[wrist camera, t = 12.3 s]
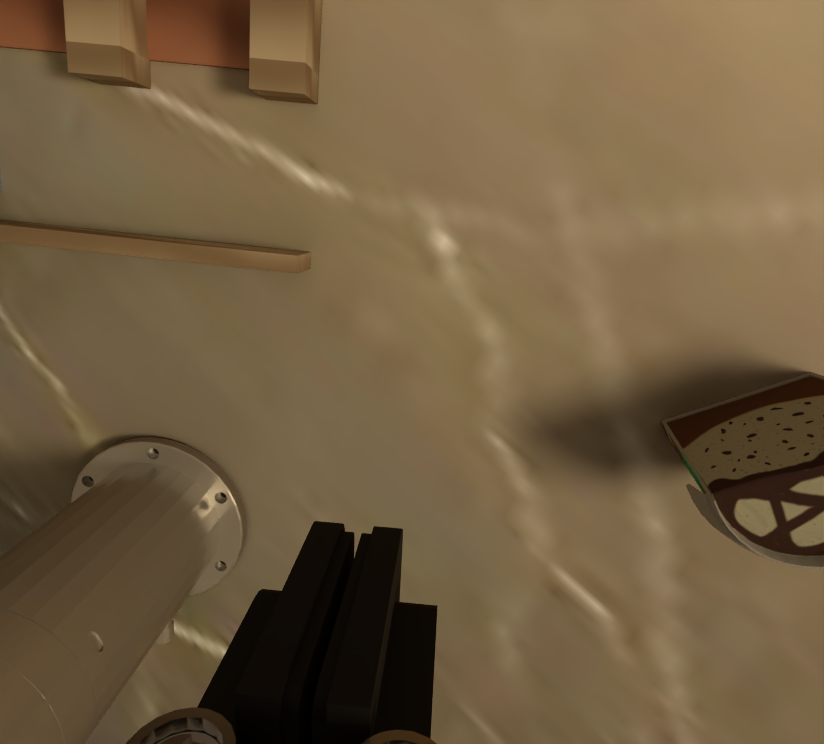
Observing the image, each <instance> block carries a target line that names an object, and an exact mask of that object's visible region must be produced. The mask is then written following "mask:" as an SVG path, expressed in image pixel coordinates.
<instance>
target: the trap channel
mask: <svg viewBox="0 0 824 744" xmlns="http://www.w3.org/2000/svg"><path fill="white" fill-rule="evenodd" d="M321 15H322V0H0V47H7V48H18V49H29V50H40V51H51V52H62V53H67V64H68V72H69V73H72V74H75V75H77V76H80V77H83V78H86V79H89V80H91V81H94V82H97V83H100V84H106V85H116V86H127V87H138V88H149V89H151V86H150V61H161V62H172V63H183V64H194V65H205V66H216V67H227V68H238V69H249V89H250V90H252V91H254V92H255V93H257V94H259V95H260V96H262V97H264V98H265V99H267V100H278V101H288V102H299V103H310V104H318V82H319V60H320V38H321ZM0 242H7V243H17V244H26V245H35V246H45V247H54V248H64V249H73V250H82V251H92V252H101V253H111V254H120V255H130V256H139V257H148V258H158V259H167V260H177V261H186V262H195V263H205V264H214V265H224V266H233V267H242V268H252V269H261V270H271V271H280V272H289V273H299V272H302V271H305V270H307V269H310V259H311V252H304V251H294V250H285V249H275V248H266V247H256V246H247V245H237V244H227V243H218V242H208V241H199V240H189V239H180V238H170V237H160V236H151V235H141V234H132V233H122V232H113V231H103V230H94V229H84V228H74V227H65V226H55V225H46V224H36V223H27V222H17V221H7V220H0Z"/></svg>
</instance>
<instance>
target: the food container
mask: <svg viewBox="0 0 824 744" xmlns="http://www.w3.org/2000/svg"><path fill="white" fill-rule="evenodd" d="M661 423H662V425H663V427H664V430H665V432H666V434H667V437H668V438H669V440H670V441H671V443H672V444H673V446H674V448H675V449H676V451H677V452H678V454H679V455H680V457H681V459H682V460H683V462H684V463H685V465H686V466H687V468H688V470H689V471H690V473H691V474H692V476H693V478H694V479H695V481H696V482H697V484H698V485H699V487H700V489H701V490H702V492H703V493H702V492H701V491H699V490H697V489H696V488H694V487H693V486H691V485H690V484H687V485H686V486H687V489H688V491H689V494H690V496H691V498H692V500H693V502H694V503H695V505H696V506H697V508H698V510H699V511H700V513H701V514H702V515H703V516H704V517H705V518H706V519H707V520H708V522H709V523H710V524H711V525H712V526H713V527H715V528H716V529H717V530H719V531H720V532H721V533H723V534H724V535H725V536H727V537H728V538H730V539H731V540H732V541H734V542H735V543H737V544H738V545H740V546H741V547H743V548H745V549H747V550H749V551H751V552H752V553H754V554H756V555H758V556H761V557H764V558H767V559H770V560H773V561H776V562H779V563H782V564H786V565H791V566H796V567H802V568H820V569H822V568H824V376H821V375H818V374H815V373H812V372H810V373H807V374H804V375H801V376H797V377H794V378H791V379H788V380H785V381H782V382H779V383H776V384H773V385H770V386H767V387H764V388H761V389H757V390H754V391H751V392H748V393H745V394H742V395H739V396H736V397H733V398H730V399H727V400H724V401H721V402H717V403H714V404H711V405H708V406H705V407H702V408H699V409H696V410H693V411H690V412H687V413H684V414H681V415H678V416H674V417H671V418H668V419H665V420H662V421H661Z"/></svg>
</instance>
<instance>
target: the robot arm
mask: <svg viewBox="0 0 824 744" xmlns="http://www.w3.org/2000/svg"><path fill="white" fill-rule="evenodd" d="M245 538H246V517H245V512H244V507H243V504H242V501H241V499H240V496H239V494H238V492H237V490H236V488H235V487H234V485H233V484H232V482H231V481H230V479H229V477H228V476H227V475H226V474H225V473H224V472H223V471H222V470H221V469H220V468H219V466H218V465H217V464H215V463H214V462H213V461H211V460H210V459H209V458H208V457H206V456H205V455H204V454H202V453H200V452H199V451H197V450H195V449H193V448H191V447H189V446H187V445H184V444H181V443H179V442H176V441H173V440H168V439H162V438H156V437H142V438H134V439H129V440H124V441H121V442H119V443H117V444H115V445H112V446H110V447H108V448H107V449H105V450H104V451H102V452H101V453H99V454H98V455H96V456H95V457H94V458H93V459H92V460H91V461H90V462H89V463H87V464H86V465H85V467H84V468H83V469H82V471H81V472H80V474H79V475H78V477H77V479H76V482H75V485H74V487H73V490H72V496H71V504H69V505H68V506H67V507H66V508H64V509H63V510H62V511H60V512H59V513H58V514H56V515H55V516H54V517H52V518H51V519H50V520H48V521H47V522H46V523H44V524H43V525H42V526H41V527H39V528H38V529H37V530H35V531H34V532H33V533H31V534H30V535H29V536H27V537H26V538H25V539H23V540H22V541H21V542H20V543H18V544H17V545H16V546H14V547H13V548H12V549H10V550H9V551H8V552H6V553H5V554H4V555H2V556H1V557H0V744H84V743H85V742H86V740H87V739H88V738H89V736H90V735H91V733H92V732H93V730H94V729H95V728H96V726H97V725H98V723H99V722H100V720H101V719H102V717H103V716H104V715H105V713H106V712H107V710H108V709H109V707H110V706H111V705H112V703H113V702H114V700H115V699H116V697H117V696H118V694H119V693H120V692H121V690H122V689H123V687H124V686H125V684H126V683H127V682H128V680H129V679H130V677H131V676H132V674H133V673H134V671H135V670H136V669H137V667H138V666H139V664H140V663H141V661H142V660H143V659H144V657H145V656H146V654H147V653H148V651H149V650H150V649H151V647H152V646H153V644H154V643H157V644H165V643H168V642H170V641H171V640H172V639H173V636H174V621H173V618H174V616H175V615H176V613H177V612H178V610H179V609H180V607H181V606H182V605H183V603H184V602H185V600H186V599H187V597H192V596H195V595H198V594H200V593H203V592H206V591H208V590H209V589H211V588H212V587H214V586H216V585H217V584H219V583H220V582H221V581H222V580H223V579H224V578H225V577H226V576H227V575H228V574H229V573H230V571H231V570H232V568H233V567H234V565H235V564H236V562H237V560H238V558H239V556H240V554H241V552H242V550H243V547H244V542H245ZM402 541H403V529H399V528H388V527H376V526H374V528H373V531H372V534H366V533H362V535H361V538H360V541H359V544H358V548H357V551H356V554H355V558H354V533H353V532H345V528H344V524H342V523H330V522H319V521H315V522H314V523H313V525H312V527H311V529H310V531H309V533H308V535H307V538H306V540H305V542H304V544H303V546H302V548H301V551H300V553H299V555H298V557H297V559H296V561H295V564H294V566H293V568H292V570H291V572H290V574H289V577H288V579H287V581H286V583H285V585H284V587H283V590H282V591H277V590H266V589H262V590H260V591H259V592H258V593H257V595H256V596H255V598H254V600H253V602H252V604H251V606H250V608H249V609H248V611H247V613H246V615H245V617H244V619H243V621H242V623H241V625H240V627H239V629H238V630H237V632H236V634H235V636H234V638H233V640H232V642H231V644H230V646H229V648H228V650H227V651H226V653H225V655H224V657H223V659H222V661H221V663H220V665H219V667H218V669H217V671H216V673H215V674H214V676H213V678H212V680H211V682H210V684H209V686H208V688H207V690H206V692H205V694H204V695H203V697H202V699H201V701H200V703H199V705H198V707H197V708H195V707H191V708H185V709H179V710H174V711H172V712H169V713H167V714H164V715H161V716H159V717H157V718H155V719H154V720H152V721H151V722H149V723H148V724H146V725H145V726H143V727H142V728H140V729H139V730H138V731H137V732H136V733H135V734H134V735H133V736H132V737H131V738H130V739H129V740H128V741H127V743H126V744H436V743H435V742H434V741H432V740H431V739H430V735H431V716H432V697H433V678H434V659H435V640H436V621H437V606H435V605H424V604H414V603H403V602H399V599H400V580H401V561H402Z"/></svg>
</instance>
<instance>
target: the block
mask: <svg viewBox="0 0 824 744" xmlns="http://www.w3.org/2000/svg"><path fill="white" fill-rule="evenodd" d="M0 191H2V182H1V170H0Z"/></svg>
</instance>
